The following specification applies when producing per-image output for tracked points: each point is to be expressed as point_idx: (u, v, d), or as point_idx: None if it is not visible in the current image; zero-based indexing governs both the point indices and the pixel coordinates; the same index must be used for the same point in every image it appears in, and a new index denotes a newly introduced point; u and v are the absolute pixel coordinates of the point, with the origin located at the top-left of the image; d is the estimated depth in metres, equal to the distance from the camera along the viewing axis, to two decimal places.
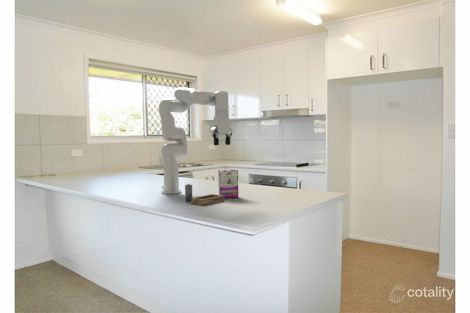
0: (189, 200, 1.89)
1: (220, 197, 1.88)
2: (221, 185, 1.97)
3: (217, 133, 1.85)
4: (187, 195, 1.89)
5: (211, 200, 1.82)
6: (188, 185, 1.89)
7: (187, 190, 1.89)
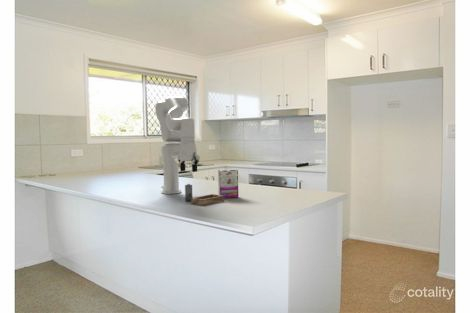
0: (189, 200, 1.89)
1: (220, 197, 1.88)
2: (221, 185, 1.97)
3: (195, 159, 1.87)
4: (187, 195, 1.89)
5: (211, 200, 1.82)
6: (188, 185, 1.89)
7: (187, 190, 1.89)
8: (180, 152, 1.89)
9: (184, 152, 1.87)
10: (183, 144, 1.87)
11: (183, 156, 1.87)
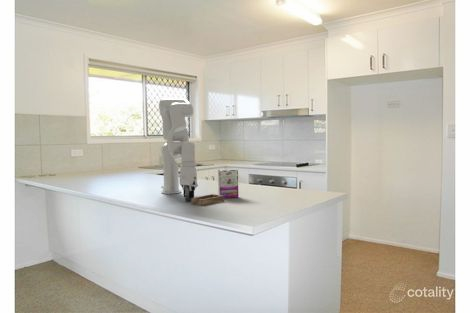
0: (189, 200, 1.89)
1: (220, 197, 1.88)
2: (221, 185, 1.97)
3: None
4: (187, 195, 1.89)
5: (211, 200, 1.82)
6: None
7: (187, 190, 1.89)
8: (180, 176, 1.90)
9: (184, 176, 1.88)
10: (183, 168, 1.88)
11: (184, 181, 1.89)
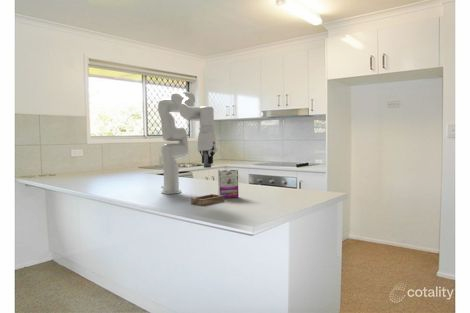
0: (208, 166, 1.84)
1: (220, 197, 1.88)
2: (221, 185, 1.97)
3: None
4: (206, 161, 1.84)
5: (211, 200, 1.82)
6: None
7: (206, 155, 1.83)
8: (199, 141, 1.85)
9: (203, 141, 1.83)
10: (202, 133, 1.83)
11: (202, 146, 1.83)
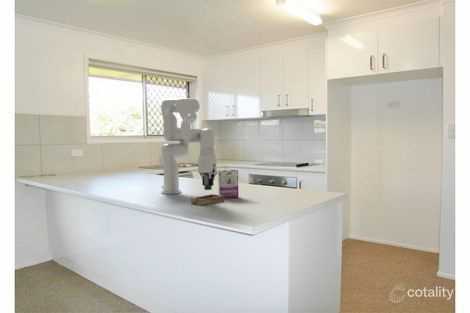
0: (208, 188, 1.84)
1: (220, 197, 1.88)
2: (221, 185, 1.97)
3: None
4: (206, 183, 1.84)
5: (211, 200, 1.82)
6: (207, 173, 1.85)
7: (206, 178, 1.84)
8: (199, 164, 1.86)
9: (204, 164, 1.83)
10: (202, 156, 1.84)
11: (203, 168, 1.84)
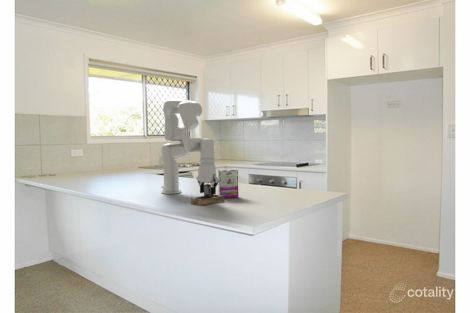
0: None
1: (220, 197, 1.88)
2: (221, 185, 1.97)
3: (214, 182, 1.84)
4: (206, 195, 1.85)
5: (211, 200, 1.82)
6: (207, 185, 1.85)
7: (206, 190, 1.84)
8: (199, 173, 1.86)
9: (204, 173, 1.84)
10: (203, 165, 1.84)
11: (203, 178, 1.84)
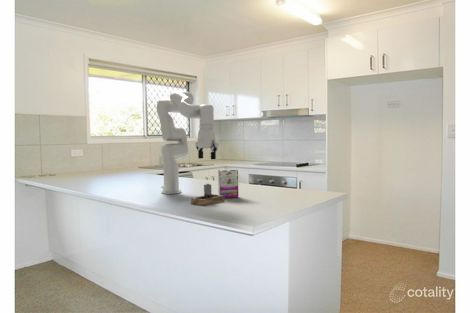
0: None
1: (220, 197, 1.88)
2: (221, 185, 1.97)
3: (214, 147, 1.85)
4: (206, 195, 1.85)
5: (211, 200, 1.82)
6: (207, 185, 1.85)
7: (206, 190, 1.85)
8: (199, 139, 1.87)
9: (203, 139, 1.85)
10: (202, 131, 1.85)
11: (202, 144, 1.86)
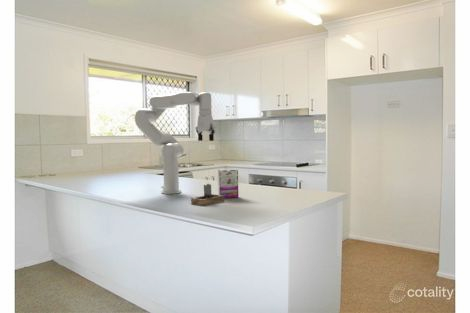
0: None
1: (220, 197, 1.88)
2: (221, 185, 1.97)
3: (212, 130, 2.10)
4: (206, 195, 1.85)
5: (211, 200, 1.82)
6: (207, 185, 1.85)
7: (206, 190, 1.85)
8: (198, 123, 2.12)
9: (202, 123, 2.10)
10: (201, 116, 2.10)
11: (201, 127, 2.10)
